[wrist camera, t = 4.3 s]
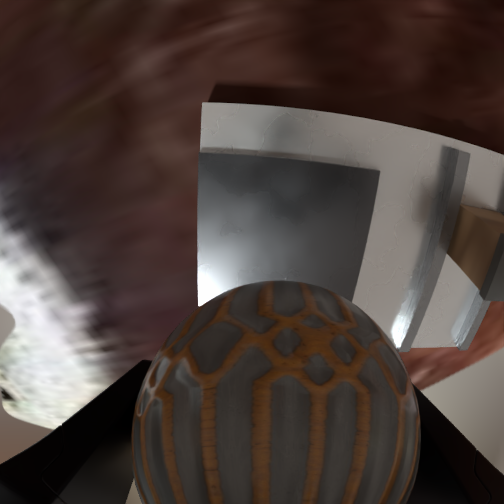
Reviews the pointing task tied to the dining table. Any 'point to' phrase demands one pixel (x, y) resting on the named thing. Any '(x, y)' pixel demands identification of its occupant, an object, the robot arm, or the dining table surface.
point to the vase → (276, 405)
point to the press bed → (343, 214)
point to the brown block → (480, 249)
